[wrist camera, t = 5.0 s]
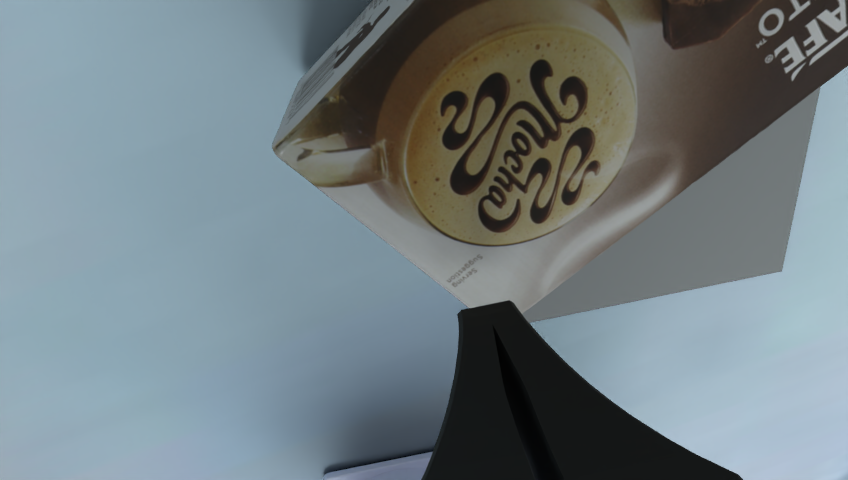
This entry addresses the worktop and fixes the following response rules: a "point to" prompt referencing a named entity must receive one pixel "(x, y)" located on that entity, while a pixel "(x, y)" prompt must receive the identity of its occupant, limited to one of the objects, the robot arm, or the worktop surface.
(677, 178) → the coffee box
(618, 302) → the mat
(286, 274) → the worktop surface
